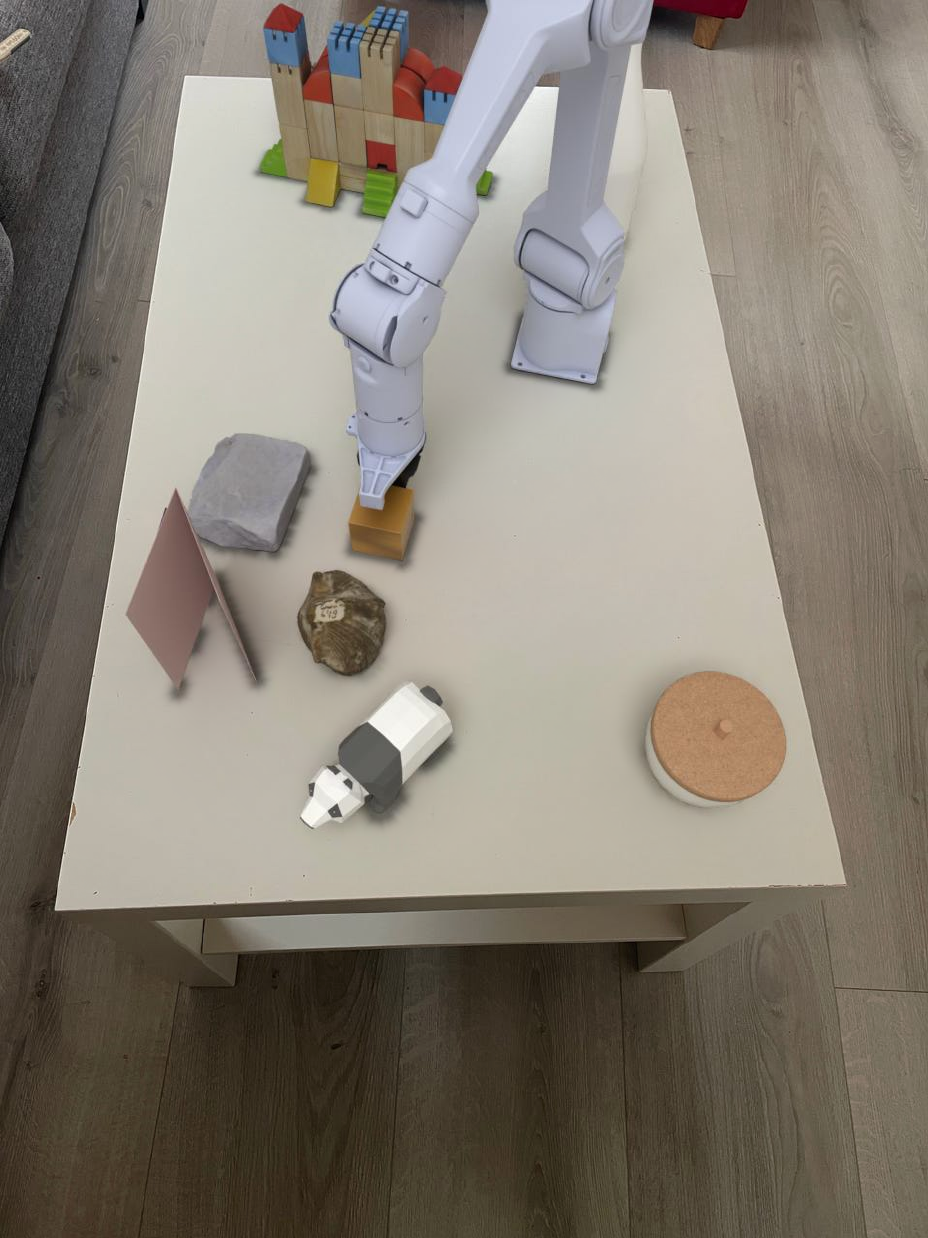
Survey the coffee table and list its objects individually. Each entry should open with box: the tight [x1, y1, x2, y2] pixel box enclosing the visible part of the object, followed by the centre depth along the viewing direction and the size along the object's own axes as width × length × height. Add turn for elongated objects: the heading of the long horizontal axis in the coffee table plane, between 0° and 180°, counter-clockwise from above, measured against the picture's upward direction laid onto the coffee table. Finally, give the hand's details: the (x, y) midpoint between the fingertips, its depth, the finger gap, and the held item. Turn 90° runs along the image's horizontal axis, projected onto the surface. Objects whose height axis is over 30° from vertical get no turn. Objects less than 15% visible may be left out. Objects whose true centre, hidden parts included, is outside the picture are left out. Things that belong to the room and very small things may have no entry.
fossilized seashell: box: [296, 569, 387, 677], centre depth 76 cm, size 8×7×10 cm
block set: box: [259, 3, 493, 218], centre depth 98 cm, size 28×14×19 cm, turn 77°
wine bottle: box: [603, 41, 649, 242], centre depth 90 cm, size 10×10×30 cm
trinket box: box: [644, 670, 787, 809], centre depth 70 cm, size 11×11×9 cm
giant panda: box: [299, 681, 454, 830], centre depth 68 cm, size 15×6×10 cm, turn 138°
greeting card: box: [124, 486, 258, 691], centre depth 71 cm, size 11×7×15 cm, turn 170°
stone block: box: [186, 432, 311, 553], centre depth 83 cm, size 12×5×10 cm
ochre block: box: [347, 485, 415, 562], centre depth 81 cm, size 5×5×5 cm
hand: (394, 489), depth 84 cm, fingers closed
